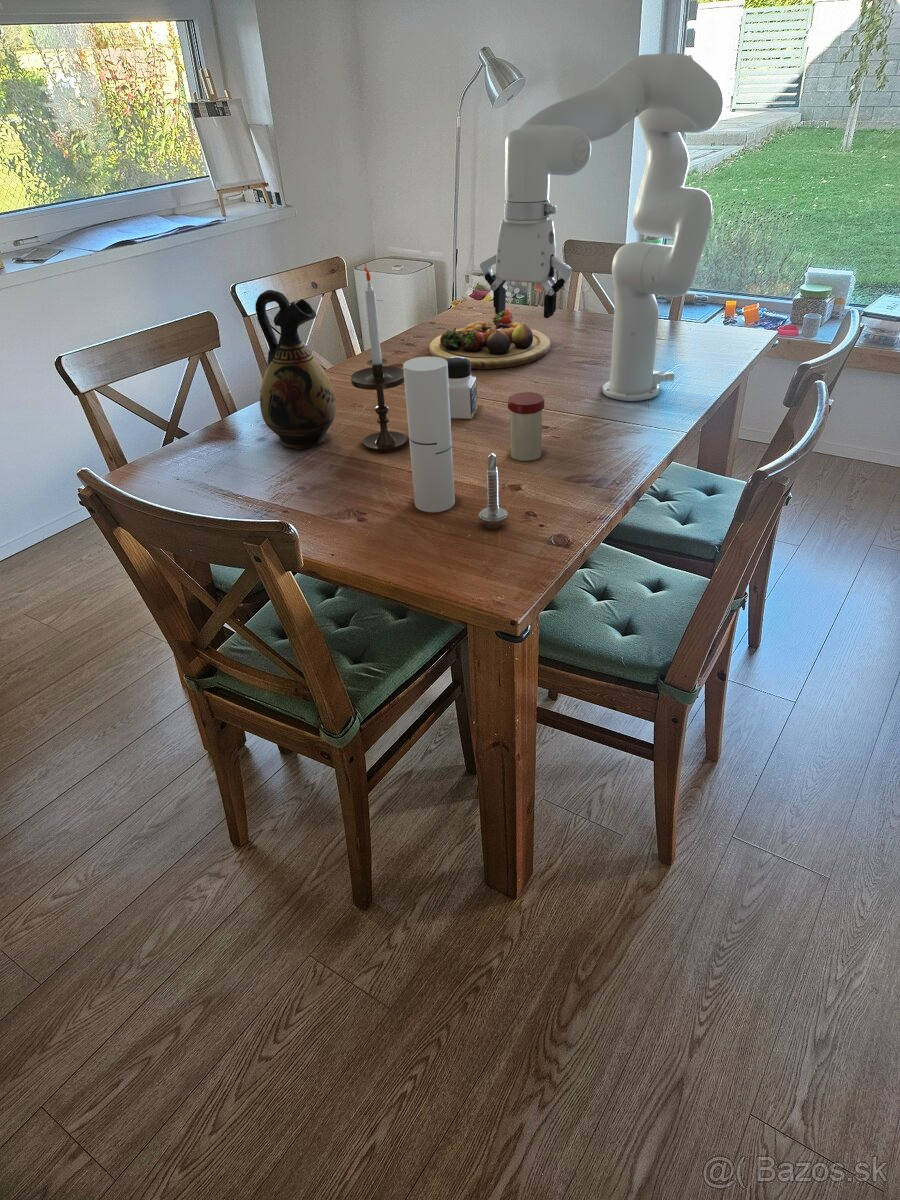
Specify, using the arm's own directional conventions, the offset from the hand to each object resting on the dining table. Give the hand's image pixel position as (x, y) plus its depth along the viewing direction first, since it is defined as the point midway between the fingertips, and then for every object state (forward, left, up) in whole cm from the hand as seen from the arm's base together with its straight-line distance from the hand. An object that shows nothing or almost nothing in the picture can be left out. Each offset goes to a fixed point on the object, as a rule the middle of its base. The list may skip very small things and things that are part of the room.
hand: (524, 314), depth 150 cm
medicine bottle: (+9, -21, -26) cm, 35 cm away
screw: (+14, +31, -26) cm, 42 cm away
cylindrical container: (+22, +20, -26) cm, 39 cm away
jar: (+1, +5, -26) cm, 26 cm away
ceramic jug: (+44, -17, -26) cm, 54 cm away
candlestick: (+27, -9, -26) cm, 39 cm away
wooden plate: (-8, -62, -26) cm, 68 cm away
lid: (+1, +5, -15) cm, 15 cm away
